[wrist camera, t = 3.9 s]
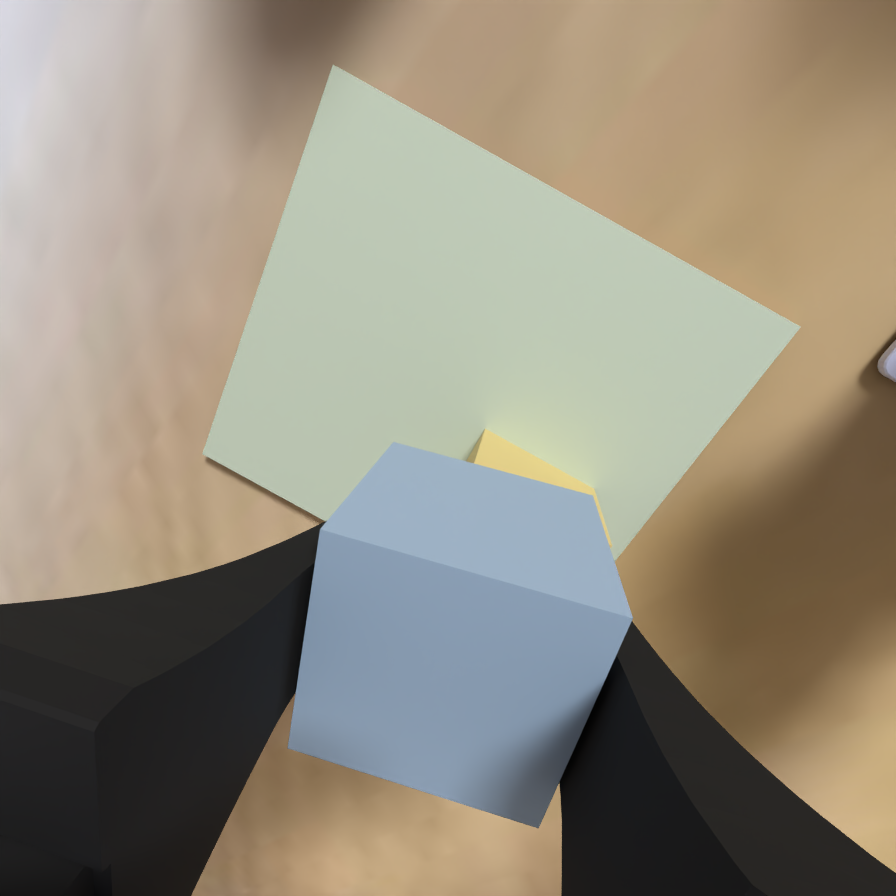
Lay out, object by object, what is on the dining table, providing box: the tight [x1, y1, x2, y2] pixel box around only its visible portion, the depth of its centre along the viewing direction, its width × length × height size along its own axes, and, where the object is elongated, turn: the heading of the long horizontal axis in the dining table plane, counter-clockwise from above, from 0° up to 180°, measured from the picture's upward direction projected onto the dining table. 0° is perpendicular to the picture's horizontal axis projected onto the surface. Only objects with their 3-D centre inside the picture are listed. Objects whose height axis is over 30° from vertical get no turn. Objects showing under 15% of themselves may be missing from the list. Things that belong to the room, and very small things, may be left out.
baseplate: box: [203, 65, 800, 562], centre depth 19 cm, size 18×16×1 cm
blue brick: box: [288, 442, 633, 828], centre depth 10 cm, size 5×5×4 cm
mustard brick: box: [466, 429, 612, 548], centre depth 18 cm, size 5×5×4 cm
